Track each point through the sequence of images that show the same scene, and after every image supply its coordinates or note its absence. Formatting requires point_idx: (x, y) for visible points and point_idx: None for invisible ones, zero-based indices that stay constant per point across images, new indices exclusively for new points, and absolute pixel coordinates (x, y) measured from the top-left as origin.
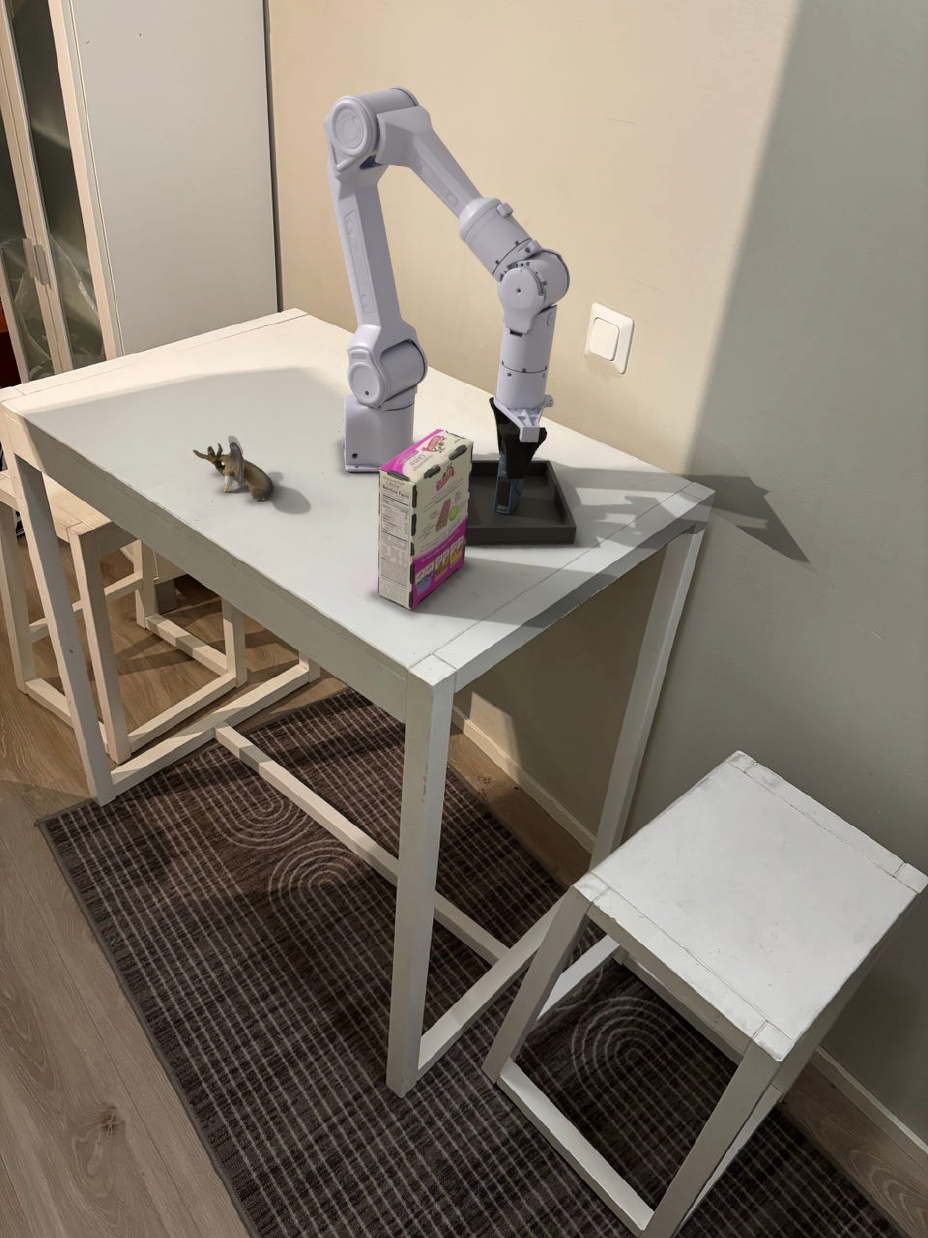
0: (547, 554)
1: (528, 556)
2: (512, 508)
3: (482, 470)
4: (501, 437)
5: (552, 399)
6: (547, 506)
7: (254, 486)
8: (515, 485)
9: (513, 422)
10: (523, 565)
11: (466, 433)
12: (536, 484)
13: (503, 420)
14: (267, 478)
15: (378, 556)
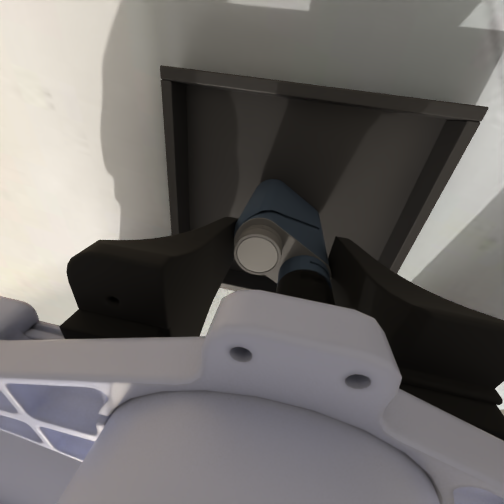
0: (457, 181)
1: (442, 217)
2: (312, 208)
3: (185, 218)
4: (219, 280)
5: (338, 357)
6: (309, 125)
7: None
8: (316, 229)
9: None
10: (462, 235)
11: (52, 190)
12: (222, 119)
13: (200, 317)
14: None
15: None
